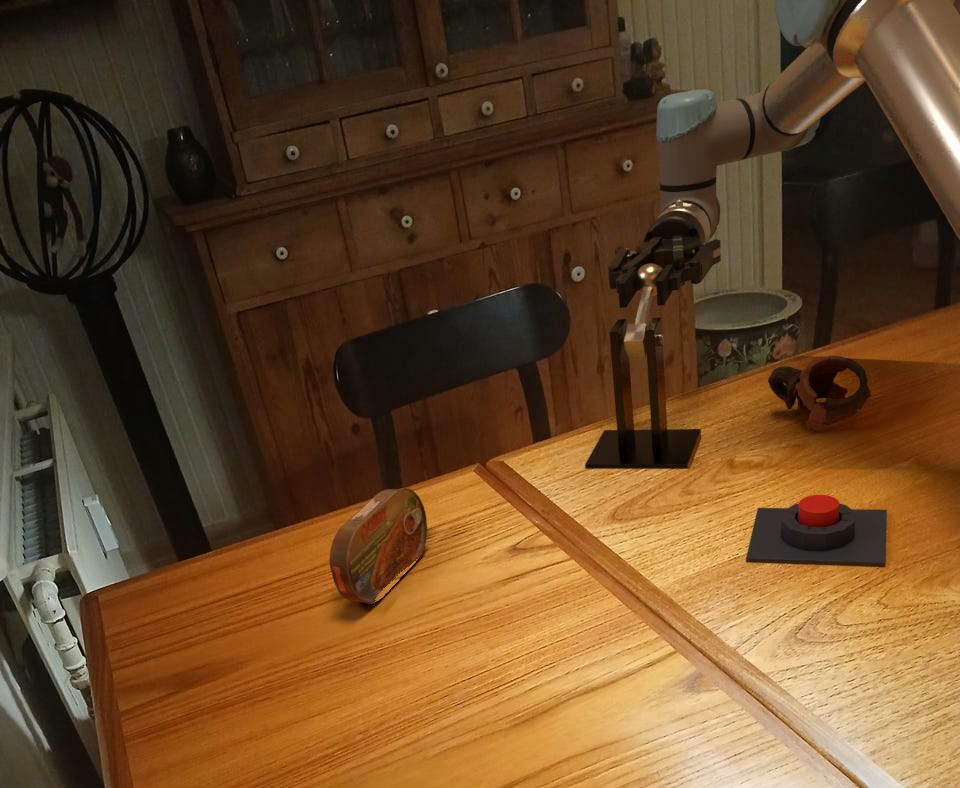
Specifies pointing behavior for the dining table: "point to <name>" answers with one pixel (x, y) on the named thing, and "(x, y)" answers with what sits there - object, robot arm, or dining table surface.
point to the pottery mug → (821, 389)
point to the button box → (819, 538)
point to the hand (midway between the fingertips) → (641, 294)
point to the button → (818, 511)
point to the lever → (642, 310)
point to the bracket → (659, 442)
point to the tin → (378, 544)
